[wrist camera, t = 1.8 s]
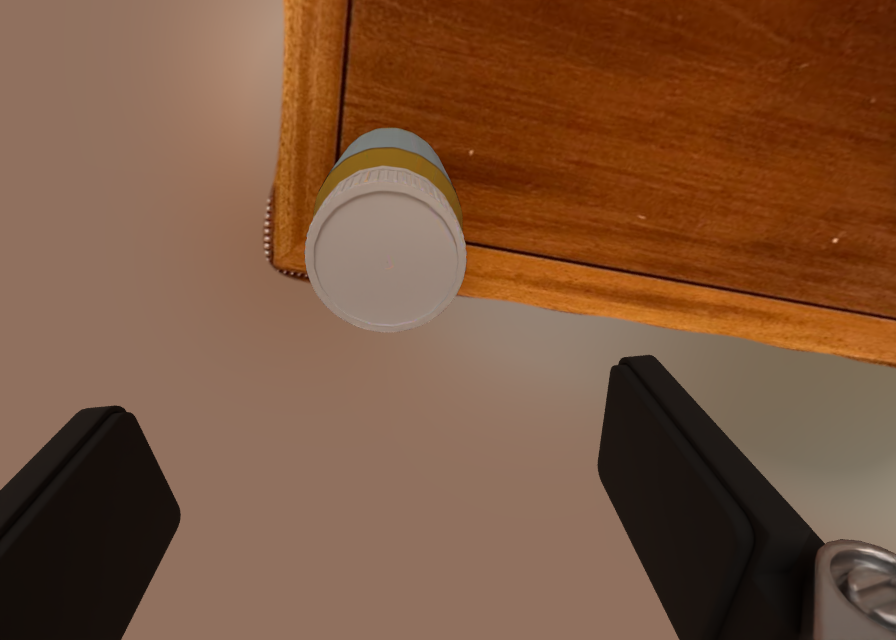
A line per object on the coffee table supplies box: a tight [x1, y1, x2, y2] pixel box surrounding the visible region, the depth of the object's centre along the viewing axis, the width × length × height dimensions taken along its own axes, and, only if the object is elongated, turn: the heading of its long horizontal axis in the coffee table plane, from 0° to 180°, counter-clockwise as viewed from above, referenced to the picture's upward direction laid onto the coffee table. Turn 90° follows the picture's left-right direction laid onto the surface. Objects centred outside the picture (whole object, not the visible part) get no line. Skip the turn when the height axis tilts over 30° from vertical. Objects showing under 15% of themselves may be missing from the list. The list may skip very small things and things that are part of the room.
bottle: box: [304, 128, 467, 332], centre depth 24 cm, size 7×7×15 cm
